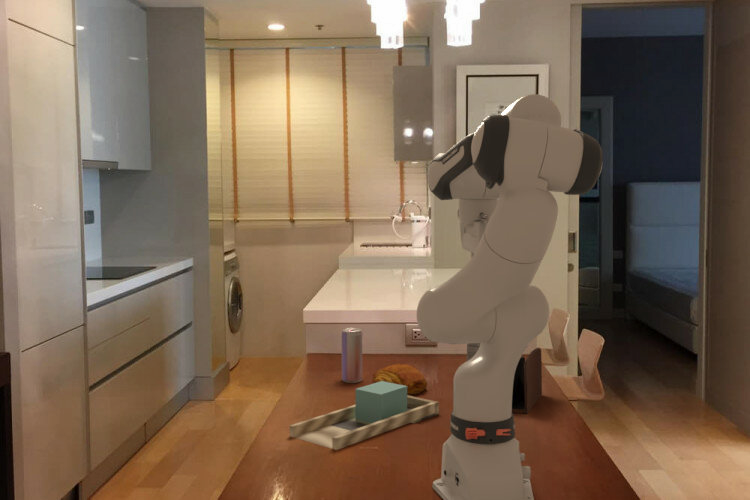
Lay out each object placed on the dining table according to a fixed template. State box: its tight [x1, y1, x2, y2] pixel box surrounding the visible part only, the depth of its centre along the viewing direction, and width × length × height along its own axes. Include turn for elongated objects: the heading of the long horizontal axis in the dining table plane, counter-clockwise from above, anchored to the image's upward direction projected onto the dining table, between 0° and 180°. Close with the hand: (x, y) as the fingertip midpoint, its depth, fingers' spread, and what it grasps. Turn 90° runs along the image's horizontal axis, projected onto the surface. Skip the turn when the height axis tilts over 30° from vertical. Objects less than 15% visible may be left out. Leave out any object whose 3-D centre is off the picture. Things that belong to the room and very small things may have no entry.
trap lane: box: [288, 395, 440, 451], centre depth 195 cm, size 38×14×3 cm, turn 140°
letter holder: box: [512, 347, 543, 415], centre depth 215 cm, size 10×20×14 cm, turn 158°
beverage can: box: [341, 327, 363, 384], centre depth 238 cm, size 6×6×15 cm
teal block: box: [355, 381, 407, 423], centre depth 200 cm, size 10×8×8 cm
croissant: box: [371, 363, 428, 396], centre depth 228 cm, size 14×16×8 cm
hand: (477, 272), depth 188 cm, fingers closed
